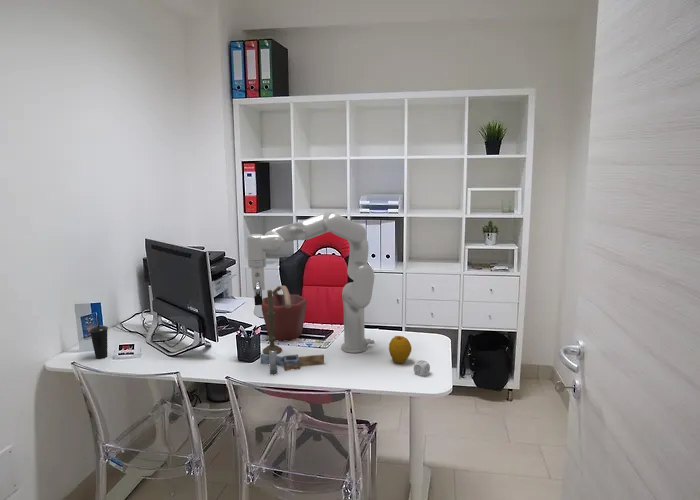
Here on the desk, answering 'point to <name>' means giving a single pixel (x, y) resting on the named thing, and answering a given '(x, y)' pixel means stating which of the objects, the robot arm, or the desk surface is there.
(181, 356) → the desk surface
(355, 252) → the robot arm
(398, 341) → the apple
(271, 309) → the candlestick holder
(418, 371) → the die
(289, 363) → the hammer
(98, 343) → the drinking cup
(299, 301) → the bucket
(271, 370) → the pin
